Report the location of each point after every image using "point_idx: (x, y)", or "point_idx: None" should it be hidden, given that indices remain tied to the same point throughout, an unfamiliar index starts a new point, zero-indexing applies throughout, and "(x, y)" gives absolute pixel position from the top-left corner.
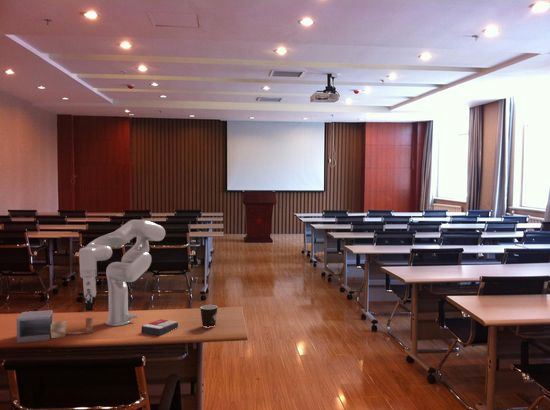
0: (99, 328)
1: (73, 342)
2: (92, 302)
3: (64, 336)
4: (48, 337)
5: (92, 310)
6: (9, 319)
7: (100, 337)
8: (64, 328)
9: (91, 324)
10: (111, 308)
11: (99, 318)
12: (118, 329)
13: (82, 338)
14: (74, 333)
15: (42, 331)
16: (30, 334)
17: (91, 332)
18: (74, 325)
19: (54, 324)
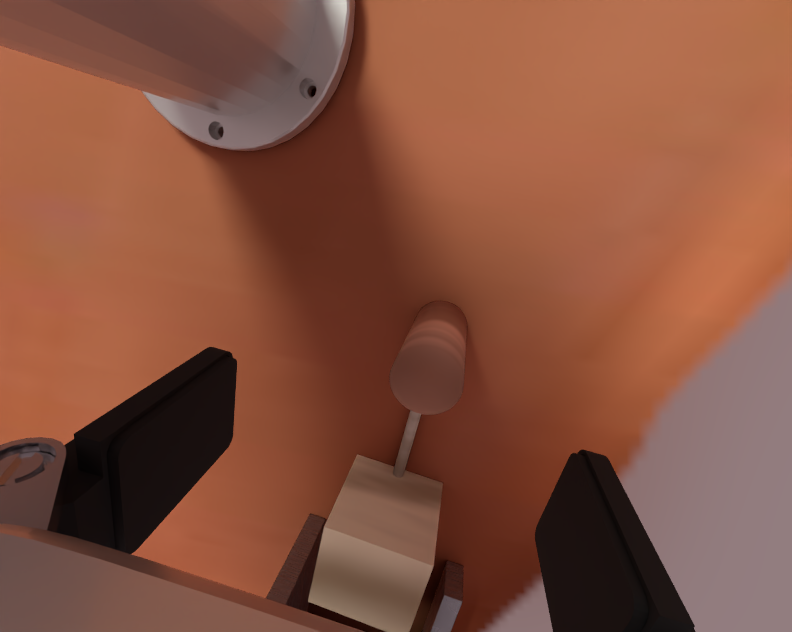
0: (352, 226)
1: (623, 470)
2: (691, 626)
3: (442, 486)
4: (462, 584)
5: (599, 458)
6: None
7: (635, 268)
8: (436, 533)
9: (460, 339)
10: (169, 34)
11: (68, 175)
12: (474, 52)
13: (561, 398)
14: (417, 425)
15: (310, 575)
16: (306, 608)
17: (463, 315)
18: None
19: (397, 616)
